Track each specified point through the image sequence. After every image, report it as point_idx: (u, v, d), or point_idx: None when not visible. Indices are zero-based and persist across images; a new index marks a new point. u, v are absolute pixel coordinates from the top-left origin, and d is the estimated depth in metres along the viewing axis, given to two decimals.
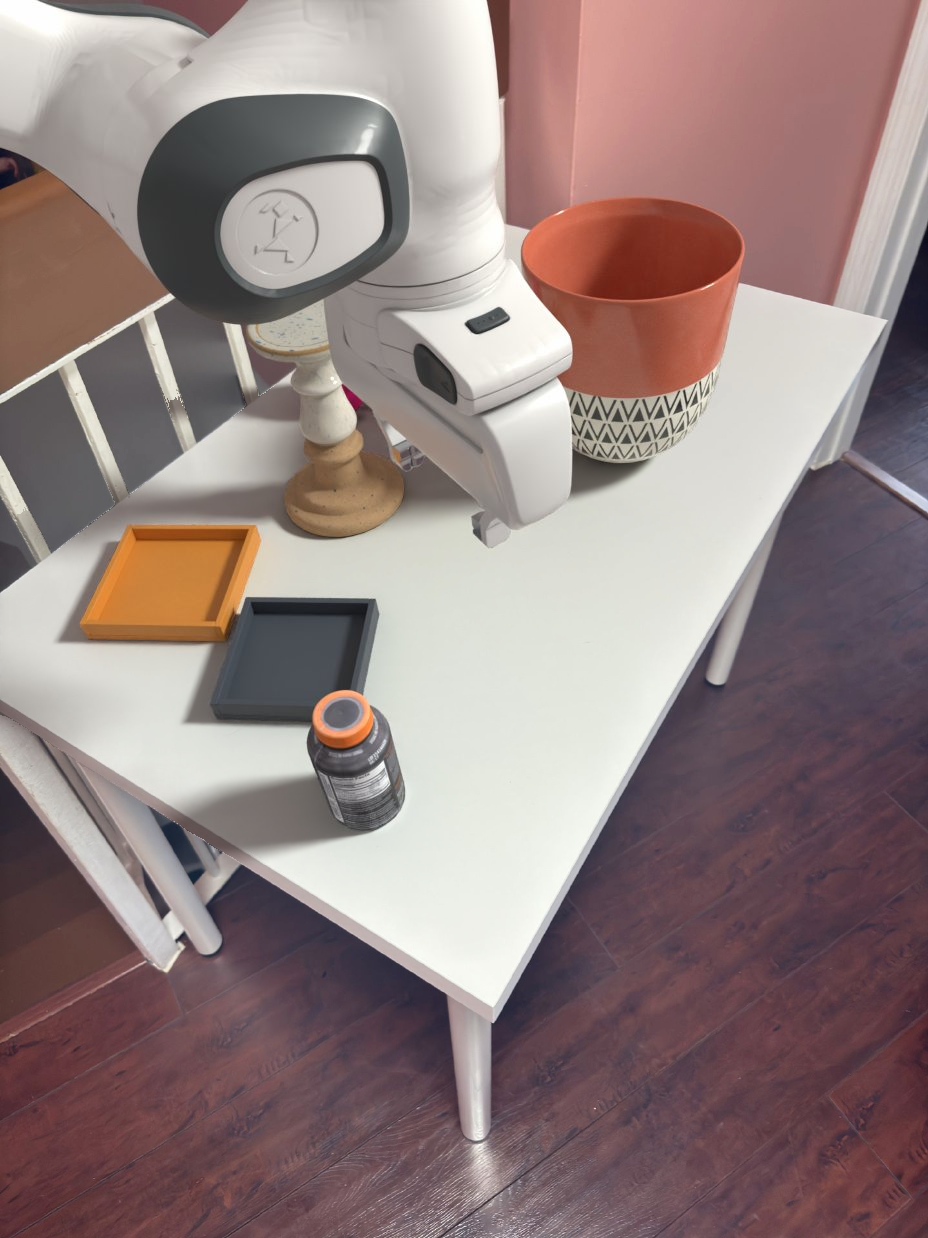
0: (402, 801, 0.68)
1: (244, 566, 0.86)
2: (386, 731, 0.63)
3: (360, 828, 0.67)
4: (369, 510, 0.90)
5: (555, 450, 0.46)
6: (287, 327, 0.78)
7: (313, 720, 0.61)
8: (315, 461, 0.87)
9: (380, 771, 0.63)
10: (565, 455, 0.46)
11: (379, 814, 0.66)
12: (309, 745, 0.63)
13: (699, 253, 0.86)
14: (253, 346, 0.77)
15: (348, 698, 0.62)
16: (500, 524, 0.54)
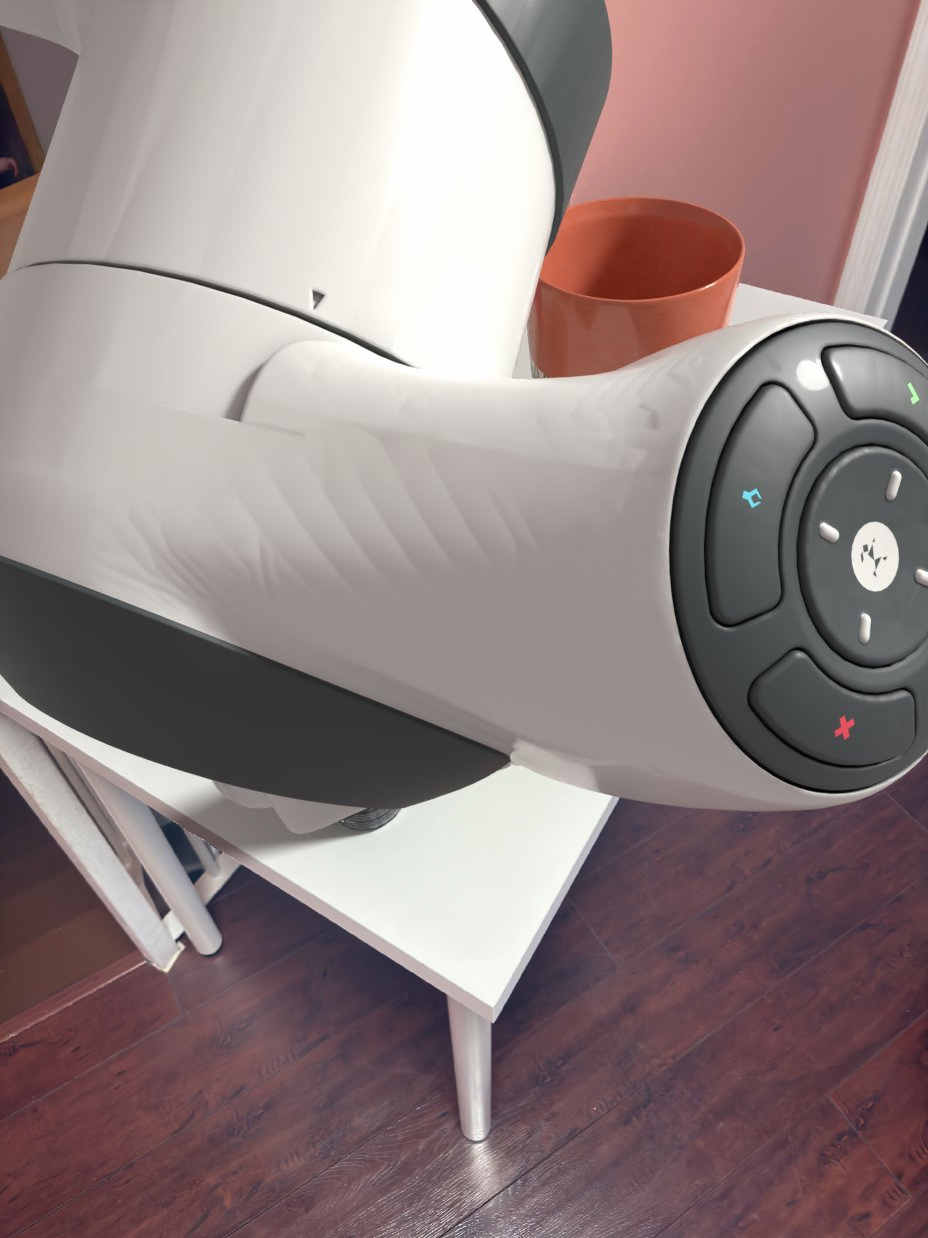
0: None
1: None
2: None
3: (360, 828, 0.67)
4: None
5: None
6: None
7: None
8: None
9: None
10: (219, 787, 0.30)
11: (379, 814, 0.66)
12: None
13: (699, 253, 0.86)
14: None
15: None
16: None
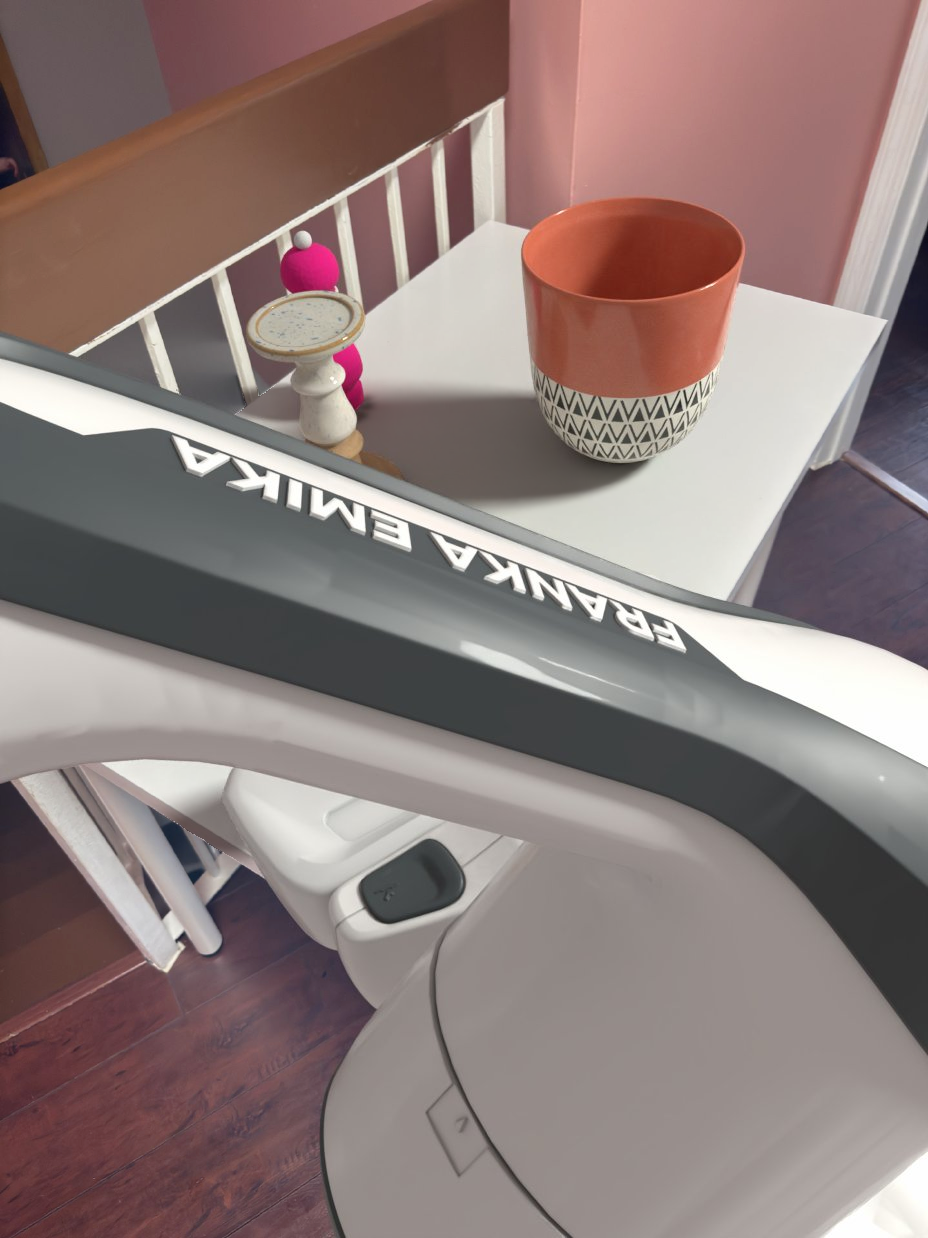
0: None
1: None
2: None
3: None
4: None
5: (278, 896, 0.33)
6: (287, 327, 0.78)
7: None
8: None
9: None
10: (274, 892, 0.34)
11: None
12: None
13: (699, 253, 0.86)
14: (253, 346, 0.77)
15: None
16: None
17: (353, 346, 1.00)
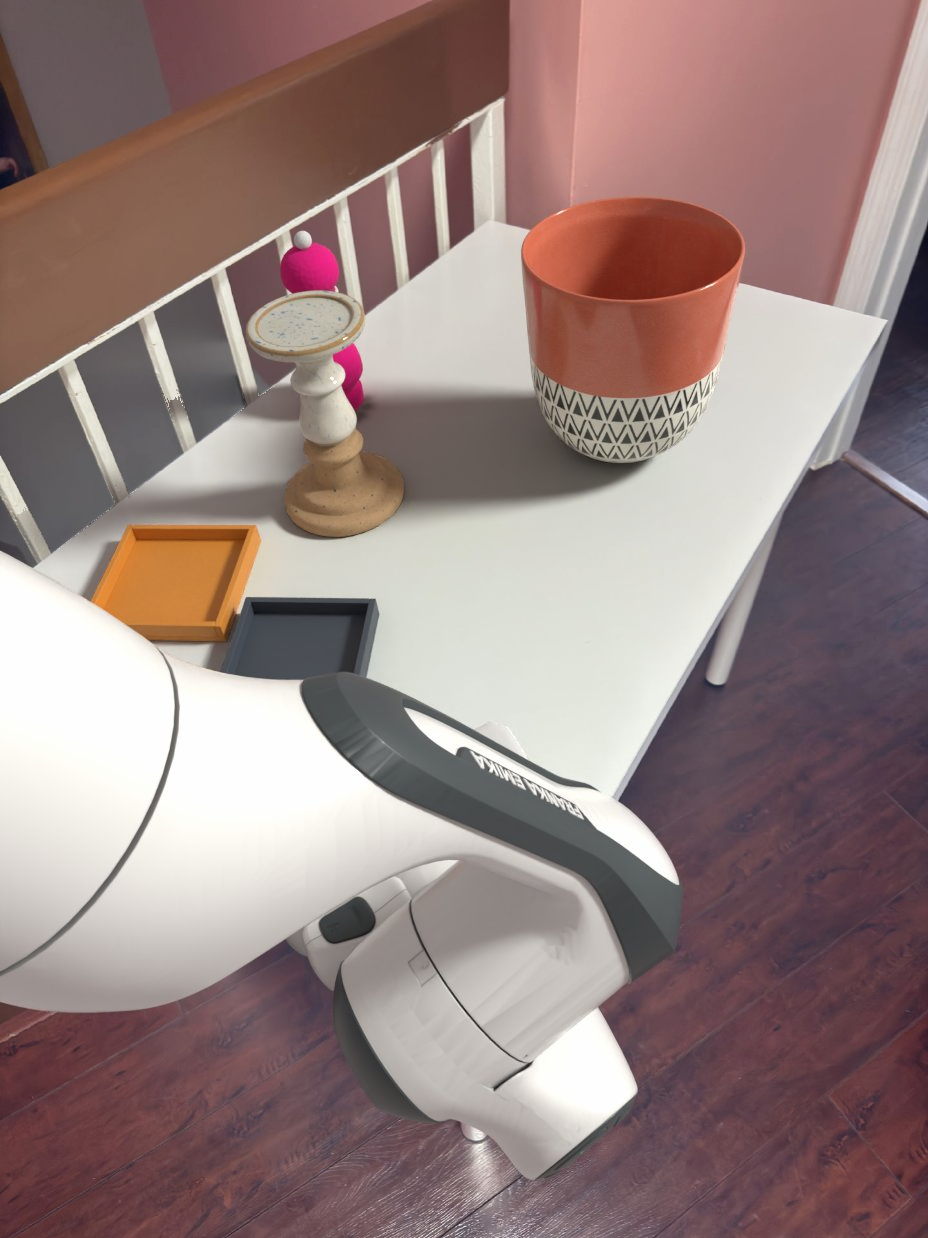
0: None
1: (244, 566, 0.86)
2: None
3: None
4: (369, 510, 0.90)
5: None
6: (287, 327, 0.78)
7: None
8: (315, 461, 0.87)
9: None
10: None
11: None
12: None
13: (700, 253, 0.86)
14: (253, 346, 0.77)
15: None
16: None
17: (353, 346, 1.00)
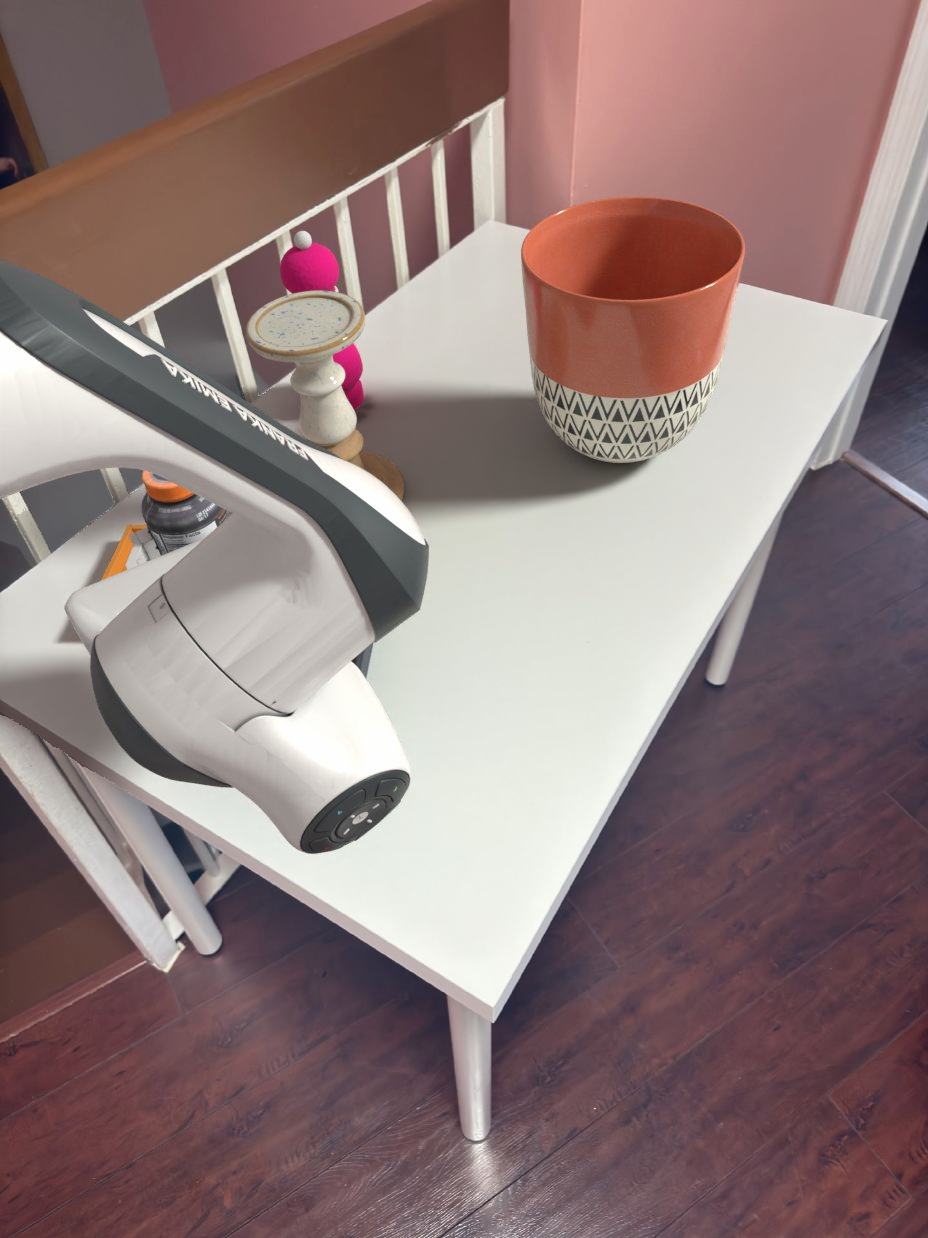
0: None
1: None
2: None
3: None
4: None
5: None
6: (287, 327, 0.78)
7: (142, 475, 0.63)
8: None
9: None
10: None
11: None
12: (142, 505, 0.64)
13: (699, 253, 0.86)
14: (253, 346, 0.77)
15: None
16: None
17: (353, 346, 1.00)
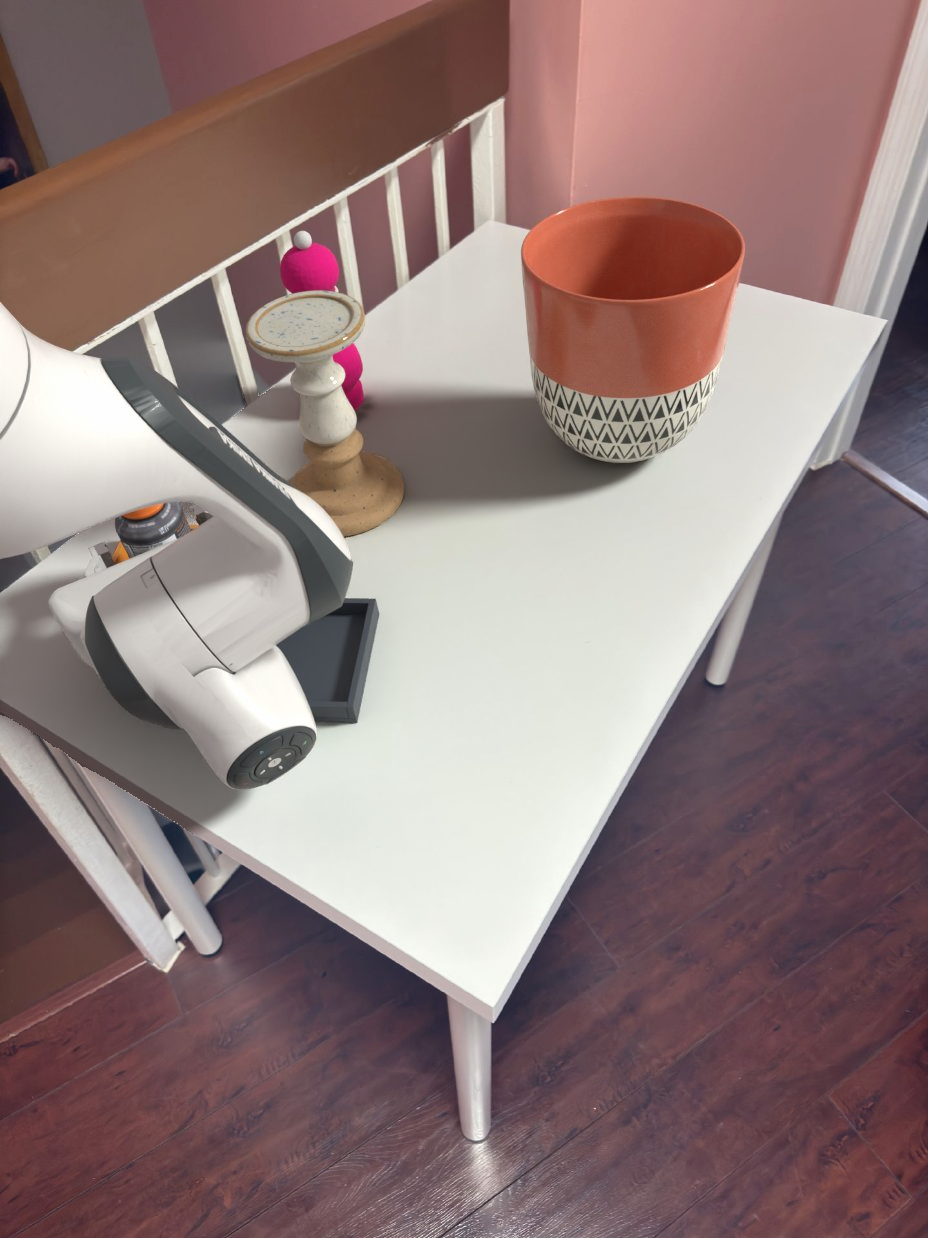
0: None
1: None
2: (177, 511, 0.80)
3: None
4: (369, 510, 0.90)
5: None
6: (287, 327, 0.78)
7: None
8: (315, 461, 0.87)
9: None
10: None
11: None
12: (115, 522, 0.79)
13: (699, 253, 0.86)
14: (253, 346, 0.77)
15: None
16: None
17: (353, 346, 1.00)
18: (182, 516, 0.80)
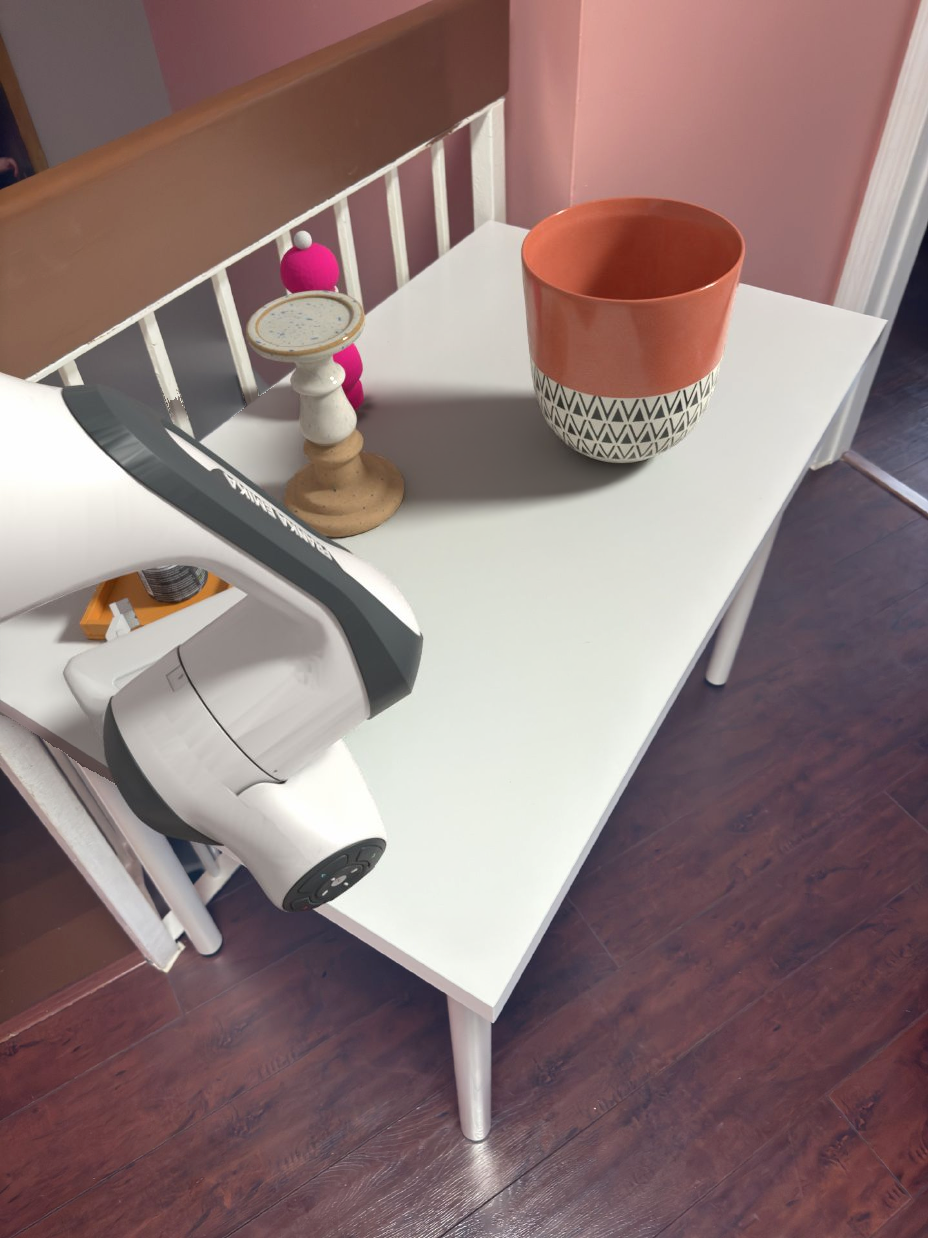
0: (203, 581, 0.85)
1: None
2: None
3: (167, 600, 0.84)
4: (369, 510, 0.90)
5: None
6: (287, 327, 0.78)
7: None
8: (315, 461, 0.87)
9: None
10: None
11: (180, 587, 0.83)
12: None
13: (699, 253, 0.86)
14: (253, 346, 0.77)
15: None
16: None
17: (353, 346, 1.00)
18: None
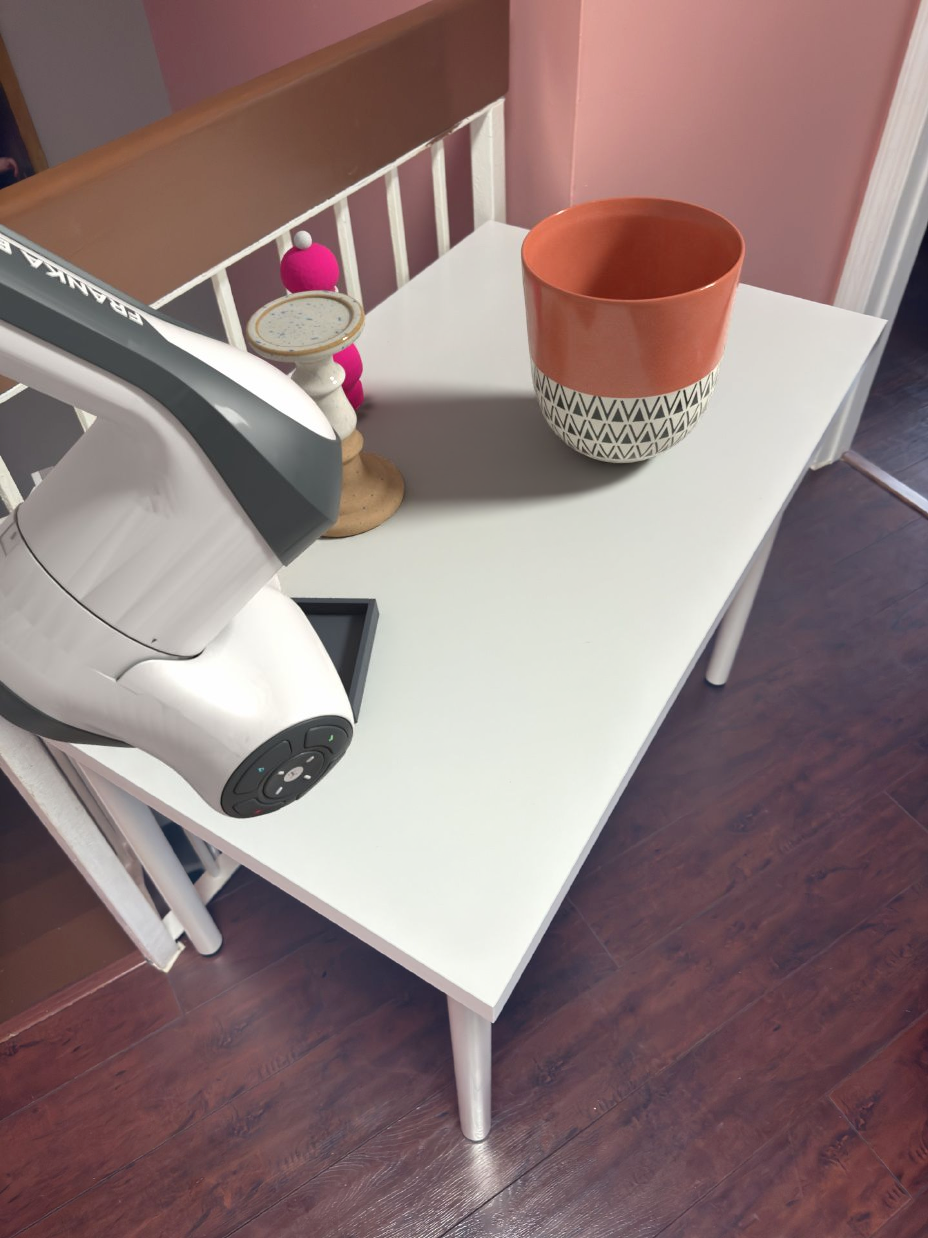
0: None
1: None
2: None
3: None
4: (369, 510, 0.90)
5: None
6: (287, 327, 0.78)
7: None
8: None
9: None
10: None
11: None
12: None
13: (699, 253, 0.86)
14: (253, 346, 0.77)
15: None
16: None
17: (353, 346, 1.00)
18: None
